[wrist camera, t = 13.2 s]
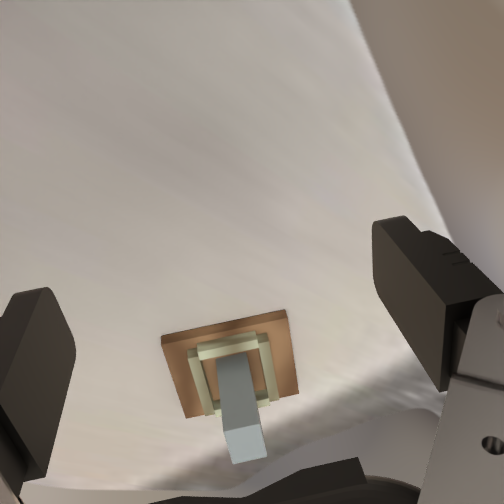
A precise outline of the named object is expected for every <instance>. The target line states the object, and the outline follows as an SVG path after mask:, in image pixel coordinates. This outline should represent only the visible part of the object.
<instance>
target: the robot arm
mask: <svg viewBox="0 0 504 504" xmlns="http://www.w3.org/2000/svg"><path fill="white" fill-rule="evenodd" d="M372 258H373V279H374V284H375V288H376V291H377V293H378V296H379V298H380V299H381V301H382V302H383V304H384V306H385V307H386V309H387V310H388V312H389V314H390V315H391V317H392V318H393V320H394V321H395V323H396V325H397V326H398V328H399V329H400V331H401V333H402V334H403V336H404V337H405V339H406V340H407V342H408V344H409V345H410V347H411V348H412V350H413V352H414V353H415V355H416V356H417V358H418V359H419V361H420V363H421V364H422V366H423V367H424V369H425V371H426V372H427V374H428V375H429V377H430V379H431V380H432V382H433V383H434V385H435V386H436V388H437V390H438V391H439V392H444V391H447V395H446V399H445V402H444V406H443V410H442V414H441V417H440V421H439V425H438V429H437V432H436V436H435V440H434V444H433V447H432V451H431V455H430V458H429V462H428V466H427V469H426V473H425V477H424V481H423V485H422V488H421V489H420V488H418V487H416V486H413V485H411V484H408V483H405V482H402V481H399V480H395V479H391V478H386V477H380V476H370V475H364V472H363V469H362V467H361V464H360V462H359V459H358V457H355V458H351V459H346V460H342V461H337V462H333V463H329V464H324V465H320V466H315V467H311V468H306V469H302V470H300V471H297V472H296V473H294V474H291V475H289V476H287V477H285V478H283V479H281V480H279V481H277V482H275V483H273V484H271V485H269V486H267V487H265V488H263V489H261V490H259V491H257V492H255V493H253V494H251V495H249V496H247V497H243V498H223V497H221V498H220V497H190V496H181V497H176V498H172V499H167V500H163V501H159V502H154V503H150V504H504V293H503V292H502V291H501V290H500V289H499V288H498V287H497V286H496V285H495V284H494V283H493V282H492V281H491V280H490V279H489V278H488V277H487V276H486V275H485V274H484V273H483V272H482V271H480V270H479V269H478V268H477V267H476V266H475V265H474V264H473V263H470V260H469V259H468V258H467V257H466V256H465V255H464V254H463V253H460V250H459V249H458V248H457V247H456V246H455V245H454V244H453V243H452V242H451V241H450V240H449V239H447V238H445V237H443V236H441V235H439V234H436V233H434V232H432V231H430V230H428V231H423V232H421V231H420V230H419V229H418V228H417V227H416V226H415V225H414V224H413V223H412V222H411V221H410V220H409V219H408V218H407V217H406V216H398V217H393V218H388V219H383V220H378V221H374V223H373V225H372ZM75 359H76V348H75V342H74V338H73V335H72V333H71V331H70V328H69V326H68V324H67V322H66V320H65V317H64V315H63V313H62V311H61V309H60V306H59V304H58V302H57V300H56V298H55V295H54V293H53V292H52V290H51V289H50V288H48V287H43V288H38V289H33V290H28V291H24V292H19V293H15V294H14V295H13V296H12V298H11V300H10V302H9V304H8V306H7V307H6V309H5V311H4V313H3V315H2V317H0V504H25V503H24V502H23V500H22V499H21V498H20V496H19V495H20V491H21V488H22V485H23V482H26V481H30V480H35V479H39V478H44V477H46V473H47V469H48V465H49V461H50V457H51V453H52V449H53V445H54V442H55V438H56V434H57V430H58V426H59V422H60V418H61V414H62V410H63V406H64V403H65V399H66V395H67V391H68V387H69V383H70V379H71V375H72V371H73V367H74V364H75Z"/></svg>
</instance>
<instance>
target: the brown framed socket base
mask: <svg viewBox="0 0 504 504" xmlns="http://www.w3.org/2000/svg"><path fill="white" fill-rule="evenodd" d="M161 346H162V349H163V352H164V355H165V358H166V361H167V364H168V367H169V370H170V372H171V375H172V378H173V381H174V384H175V387H176V390H177V393H178V396H179V399H180V402H181V405H182V408H183V411H184V414H185V417H186V419H187V418H191V417H196V416H200V415H205V416H208V415H213V414H215V415H216V417H220V416H222V413H221V404H220V395H219V386H218V376H217V367H216V359H217V358H221V357H226V356H230V355H235V354H240V353H244V352H246V354H247V358H248V363H249V367H250V372H251V376H252V381H253V386H254V391H255V396H256V401H257V406H258V408H261V407H265V406H270V402H271V401H276V400H279V398H282V397H286V396H291V395H295V394H299V390H298V384H297V377H296V370H295V363H294V357H293V350H292V343H291V337H290V330H289V323H288V317H287V314H286V311H285V310H280V311H276V312H271V313H266V314H261V315H257V316H252V317H247V318H243V319H238V320H233V321H229V322H224V323H219V324H215V325H210V326H205V327H201V328H196V329H191V330H187V331H182V332H177V333H173V334H168V335H163V336H161Z"/></svg>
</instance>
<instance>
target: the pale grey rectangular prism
mask: <svg viewBox="0 0 504 504" xmlns="http://www.w3.org/2000/svg"><path fill="white" fill-rule="evenodd" d="M216 367H217V376H218V386H219V395H220V404H221V413H222V422H223V432H224V435H225V439H226V442H227V446H228V449H229V452H230V456H231V459H232V463H233V464H236V463H241V462H245V461H249V460H254V459H258V458H263V457H267V453H266V448H265V443H264V437H263V432H262V427H261V422H260V417H259V412H258V406H257V401H256V396H255V391H254V386H253V381H252V376H251V372H250V367H249V363H248V358H247V354H246V352H244V353H240V354H235V355H230V356H226V357H221V358H217V359H216Z"/></svg>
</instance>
